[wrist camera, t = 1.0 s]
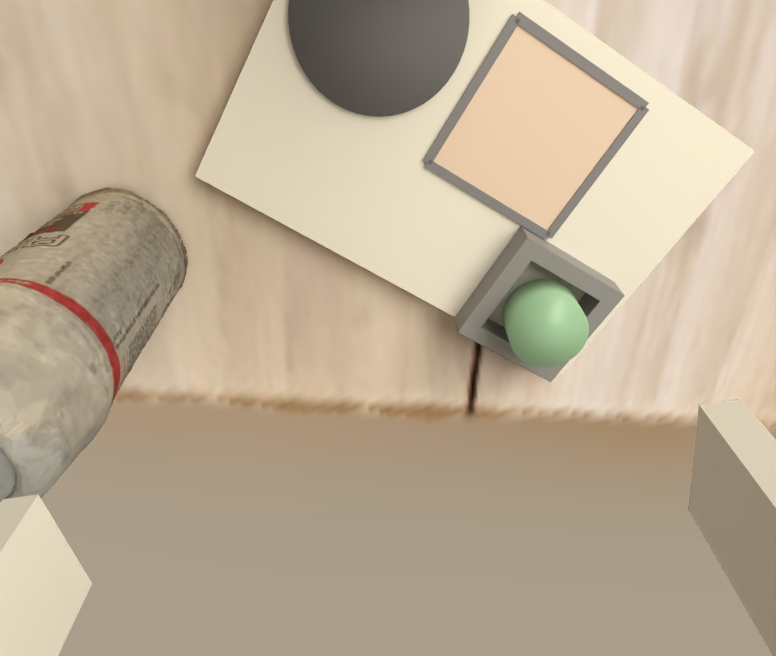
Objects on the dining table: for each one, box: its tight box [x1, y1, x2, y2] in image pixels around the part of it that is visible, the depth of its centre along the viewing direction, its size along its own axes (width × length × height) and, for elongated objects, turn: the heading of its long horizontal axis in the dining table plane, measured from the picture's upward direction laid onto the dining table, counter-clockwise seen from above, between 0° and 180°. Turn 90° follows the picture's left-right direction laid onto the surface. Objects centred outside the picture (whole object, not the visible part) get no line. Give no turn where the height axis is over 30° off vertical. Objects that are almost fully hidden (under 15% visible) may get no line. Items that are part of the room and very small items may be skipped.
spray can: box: [0, 188, 188, 502], centre depth 30 cm, size 8×8×20 cm
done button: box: [502, 279, 589, 367], centre depth 36 cm, size 4×4×3 cm
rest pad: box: [288, 0, 470, 117], centre depth 31 cm, size 9×9×1 cm
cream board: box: [195, 0, 755, 382], centre depth 34 cm, size 26×17×3 cm, turn 59°
